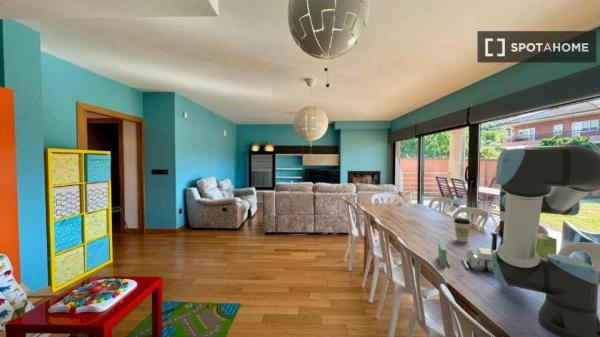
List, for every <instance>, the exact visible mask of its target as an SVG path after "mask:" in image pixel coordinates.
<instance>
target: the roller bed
mask: <svg viewBox="0 0 600 337" xmlns="http://www.w3.org/2000/svg"><path fill="white" fill-rule="evenodd" d="M465 257H466V260H467V262H468V264H469V265H470V267H471V269H472V270H473V271H475V272H478V273H481V272H483V271H484V270H486V268H487V270H488V272H489V273H490V274H493V275H494V271H493V262H492V260H485V259H481V257H480V256H479V254H478V253H477V252H476V251H474V250H469V251H467V252H466V253H465Z"/></svg>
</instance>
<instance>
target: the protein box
mask: <svg viewBox="0 0 600 337" xmlns="http://www.w3.org/2000/svg"><path fill="white" fill-rule="evenodd" d="M557 245H558V244H557V239H556V238H554V237H551V236H549V235H546V234H544V233H538V236H537V243H536V250H535V251H536V252H537V253H538V254H539V256H540V258H546V256H547V255H548V254H557Z"/></svg>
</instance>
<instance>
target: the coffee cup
mask: <svg viewBox="0 0 600 337" xmlns="http://www.w3.org/2000/svg"><path fill="white" fill-rule="evenodd" d="M453 222H454V230H455V236H456V241H457V242H460V243H468V238H469V234H470V228H471V224H472V223H471V221H470V219H467V218H460V217H458V218H457V217H456V218H454V220H453Z"/></svg>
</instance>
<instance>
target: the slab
mask: <svg viewBox="0 0 600 337" xmlns="http://www.w3.org/2000/svg"><path fill="white" fill-rule="evenodd" d="M476 249H477V250H476V251H477V252H476V253H477V254H478V255H479V257H480V258H481V259H485V260H492V253H491V248H489V247H488V248H487V247H486V248H485V247H479V246H478V247H477V248H476ZM496 250H497V248H496Z"/></svg>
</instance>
